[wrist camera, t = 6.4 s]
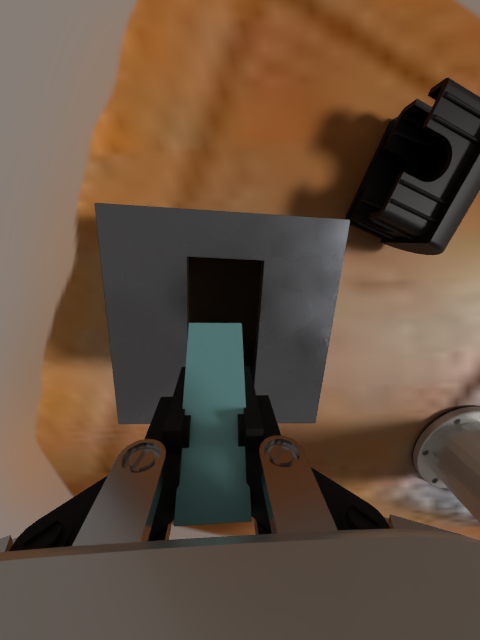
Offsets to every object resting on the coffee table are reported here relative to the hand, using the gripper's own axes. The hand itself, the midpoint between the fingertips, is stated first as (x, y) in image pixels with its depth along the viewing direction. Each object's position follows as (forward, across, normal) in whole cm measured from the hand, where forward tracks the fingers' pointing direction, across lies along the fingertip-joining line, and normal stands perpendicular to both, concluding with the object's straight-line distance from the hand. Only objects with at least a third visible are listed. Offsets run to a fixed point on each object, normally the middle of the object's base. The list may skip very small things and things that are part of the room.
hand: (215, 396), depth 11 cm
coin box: (+15, 0, -1) cm, 15 cm away
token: (+1, 0, +3) cm, 3 cm away
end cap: (+16, -17, -12) cm, 26 cm away
